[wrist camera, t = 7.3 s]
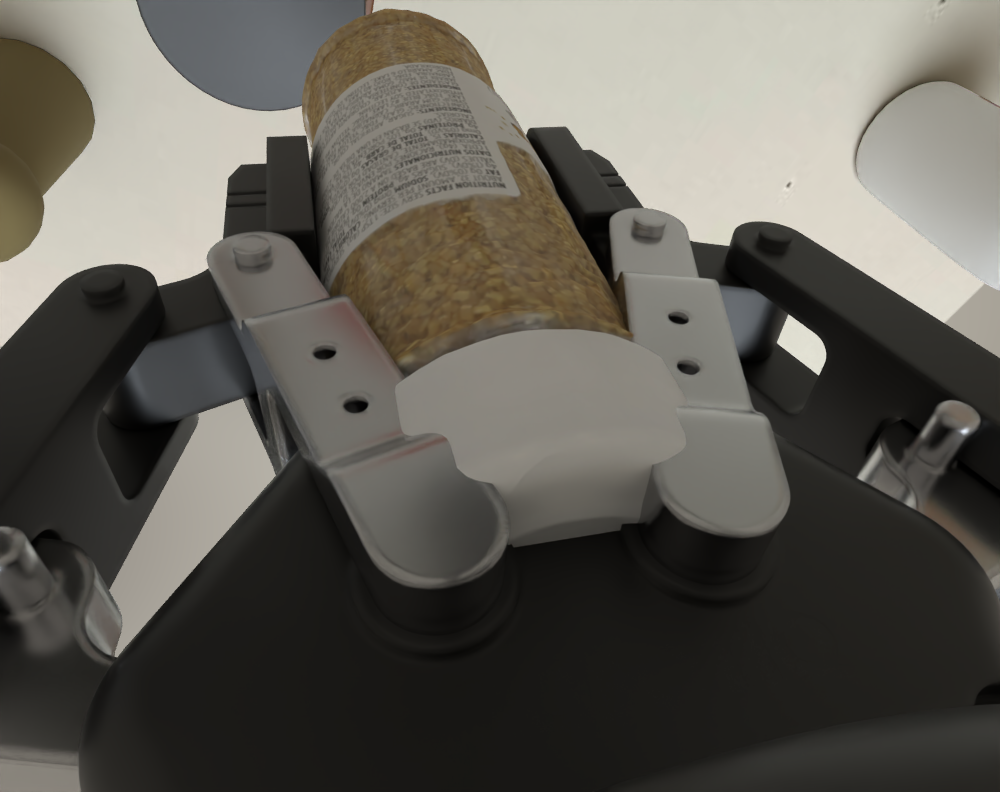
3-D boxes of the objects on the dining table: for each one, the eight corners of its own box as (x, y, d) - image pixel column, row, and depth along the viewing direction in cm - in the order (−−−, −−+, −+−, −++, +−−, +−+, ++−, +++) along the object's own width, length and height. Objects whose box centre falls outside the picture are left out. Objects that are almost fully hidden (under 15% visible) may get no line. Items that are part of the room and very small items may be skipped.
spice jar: (504, 169, 19) (748, 640, 9) (334, 214, 19) (408, 745, 9) (471, -25, 15) (794, 399, 6) (264, 29, 15) (265, 554, 6)
